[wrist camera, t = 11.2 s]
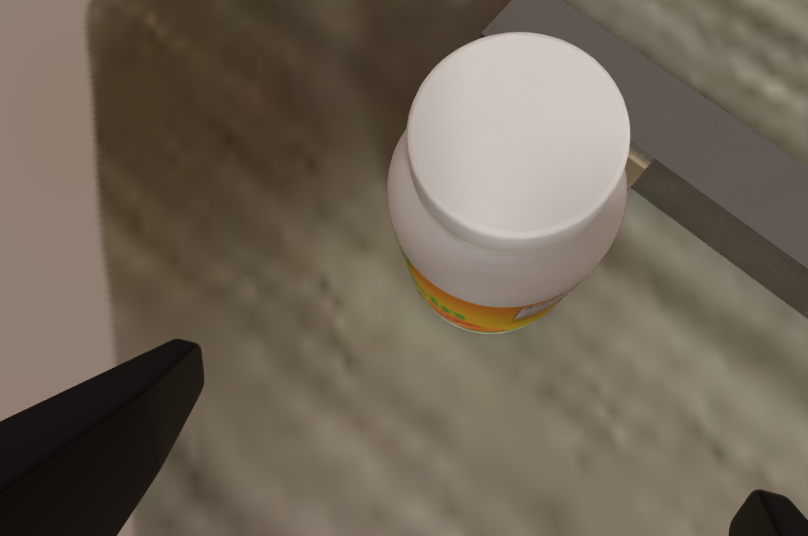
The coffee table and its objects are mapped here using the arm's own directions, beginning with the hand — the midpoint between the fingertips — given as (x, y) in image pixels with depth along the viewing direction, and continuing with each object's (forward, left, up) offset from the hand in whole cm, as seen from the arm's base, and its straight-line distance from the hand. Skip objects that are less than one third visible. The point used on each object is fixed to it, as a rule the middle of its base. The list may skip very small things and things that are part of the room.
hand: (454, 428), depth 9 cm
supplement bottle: (+5, +3, -10) cm, 11 cm away
